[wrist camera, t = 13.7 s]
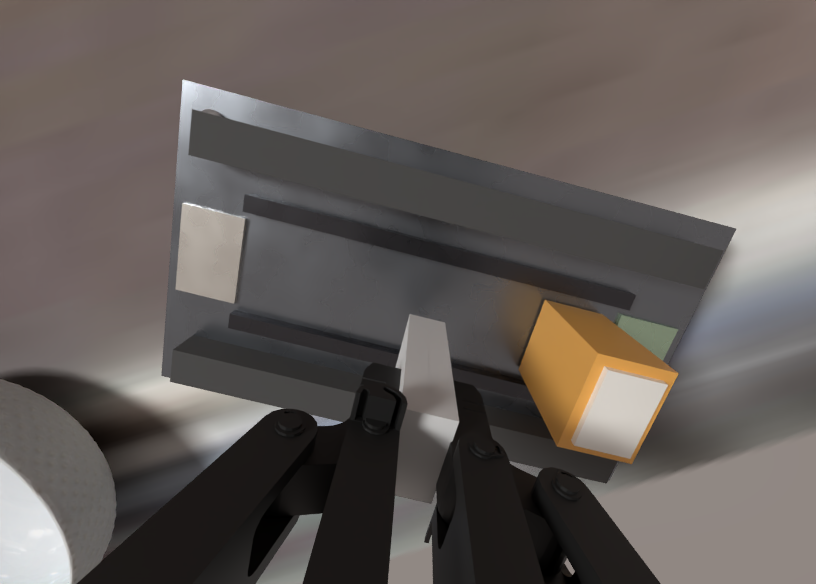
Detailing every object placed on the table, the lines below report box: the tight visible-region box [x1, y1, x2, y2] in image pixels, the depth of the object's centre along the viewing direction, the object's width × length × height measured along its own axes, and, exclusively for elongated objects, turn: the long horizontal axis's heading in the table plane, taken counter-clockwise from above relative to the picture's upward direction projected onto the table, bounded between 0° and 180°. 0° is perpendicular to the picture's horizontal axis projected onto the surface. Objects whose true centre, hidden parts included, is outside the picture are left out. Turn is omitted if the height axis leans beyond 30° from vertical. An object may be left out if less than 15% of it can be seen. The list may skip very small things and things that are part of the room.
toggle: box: [518, 300, 679, 464], centre depth 17 cm, size 4×3×6 cm
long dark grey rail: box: [188, 109, 724, 289], centre depth 17 cm, size 2×23×2 cm, turn 76°
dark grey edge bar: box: [170, 335, 618, 483], centre depth 21 cm, size 2×23×2 cm, turn 76°
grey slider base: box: [162, 80, 736, 480], centre depth 21 cm, size 15×26×4 cm, turn 76°
